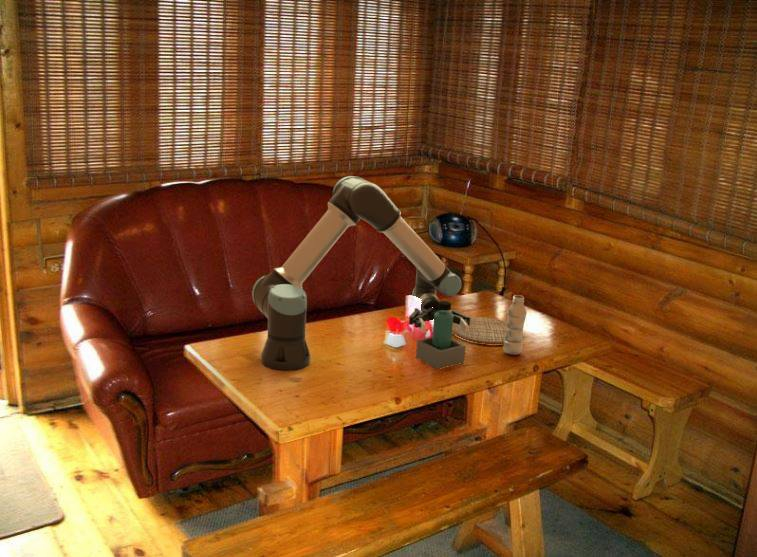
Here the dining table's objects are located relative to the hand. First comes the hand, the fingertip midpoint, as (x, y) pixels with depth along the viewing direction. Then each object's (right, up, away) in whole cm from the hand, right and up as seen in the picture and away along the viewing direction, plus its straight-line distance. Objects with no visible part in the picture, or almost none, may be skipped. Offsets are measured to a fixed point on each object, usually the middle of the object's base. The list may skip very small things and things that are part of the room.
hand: (445, 329), depth 258 cm
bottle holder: (-1, -11, +7) cm, 12 cm away
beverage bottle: (-1, -11, +7) cm, 13 cm away
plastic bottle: (+24, -9, +17) cm, 30 cm away
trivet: (+17, -4, +35) cm, 39 cm away
